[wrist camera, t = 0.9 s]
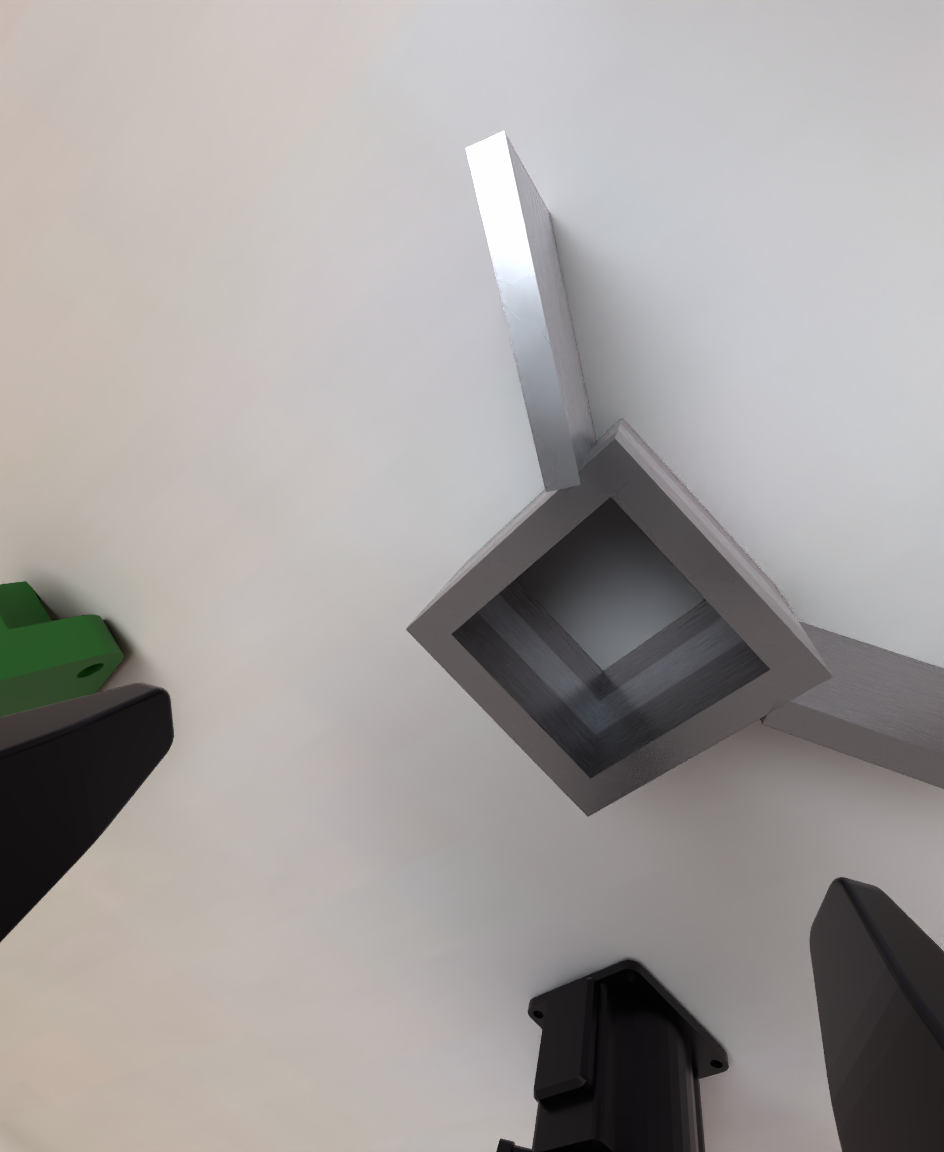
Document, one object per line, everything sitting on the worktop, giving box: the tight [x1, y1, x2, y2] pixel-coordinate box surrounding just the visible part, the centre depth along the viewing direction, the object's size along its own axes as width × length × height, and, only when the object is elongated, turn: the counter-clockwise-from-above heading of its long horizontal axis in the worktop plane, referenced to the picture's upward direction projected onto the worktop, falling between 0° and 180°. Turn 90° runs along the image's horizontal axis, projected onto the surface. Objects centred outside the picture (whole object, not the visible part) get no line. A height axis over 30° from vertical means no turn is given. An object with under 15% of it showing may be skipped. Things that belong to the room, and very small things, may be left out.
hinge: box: [406, 131, 944, 816], centre depth 16 cm, size 20×10×6 cm, turn 46°
